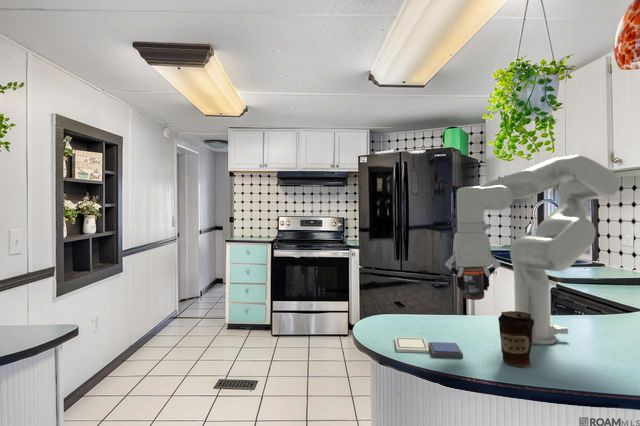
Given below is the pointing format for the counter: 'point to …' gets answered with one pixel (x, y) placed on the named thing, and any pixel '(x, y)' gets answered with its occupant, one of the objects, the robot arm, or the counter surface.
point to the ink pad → (445, 350)
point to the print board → (411, 344)
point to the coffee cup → (516, 337)
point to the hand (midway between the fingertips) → (473, 289)
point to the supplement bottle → (473, 283)
